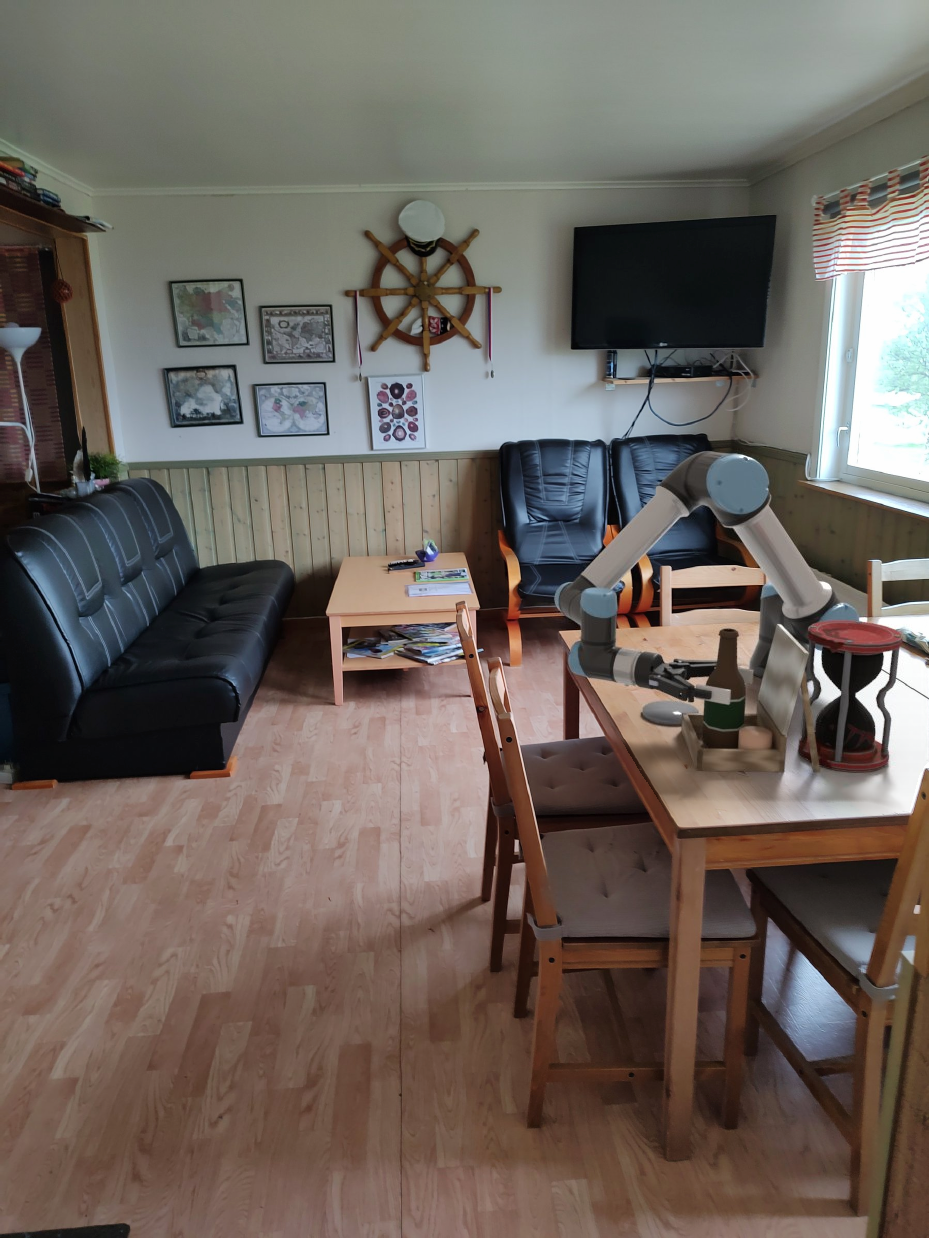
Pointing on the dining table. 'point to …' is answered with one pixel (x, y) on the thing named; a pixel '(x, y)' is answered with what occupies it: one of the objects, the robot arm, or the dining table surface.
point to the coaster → (667, 712)
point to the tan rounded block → (754, 738)
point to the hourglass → (850, 694)
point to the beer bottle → (725, 718)
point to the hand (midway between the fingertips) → (741, 686)
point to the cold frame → (763, 714)
